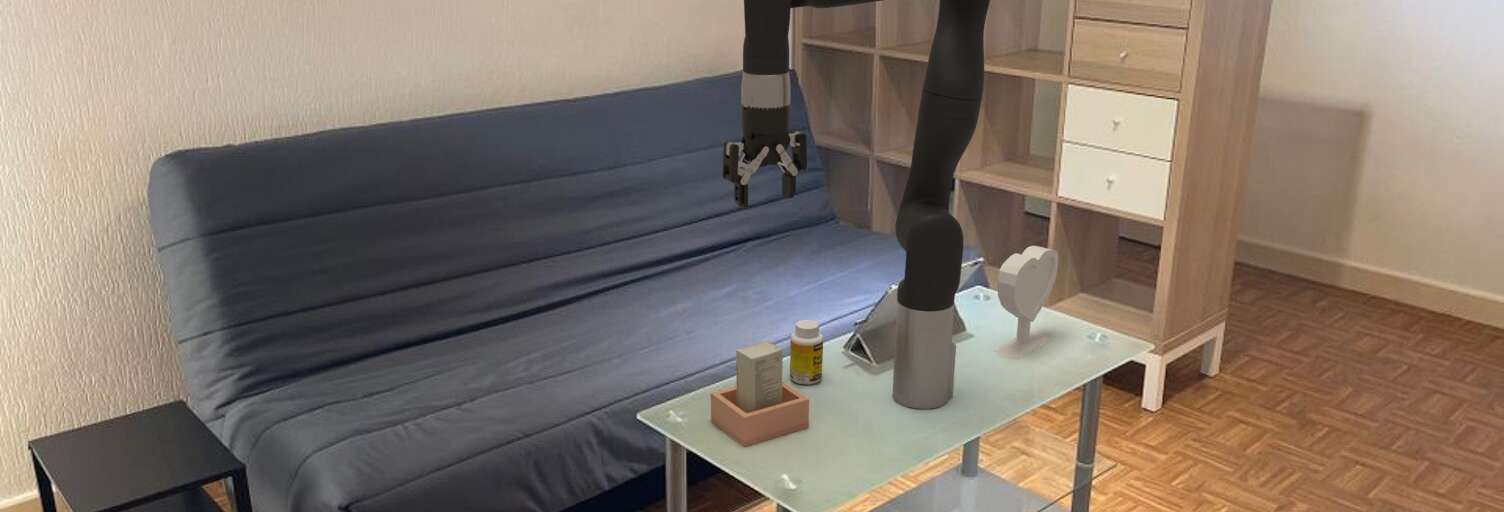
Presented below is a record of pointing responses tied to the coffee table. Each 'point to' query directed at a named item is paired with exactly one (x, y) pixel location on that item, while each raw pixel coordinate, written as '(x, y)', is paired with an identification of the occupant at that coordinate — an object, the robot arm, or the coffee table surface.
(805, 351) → the supplement bottle
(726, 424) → the box
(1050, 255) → the heart sculpture
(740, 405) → the skincare box
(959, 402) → the coffee table surface
